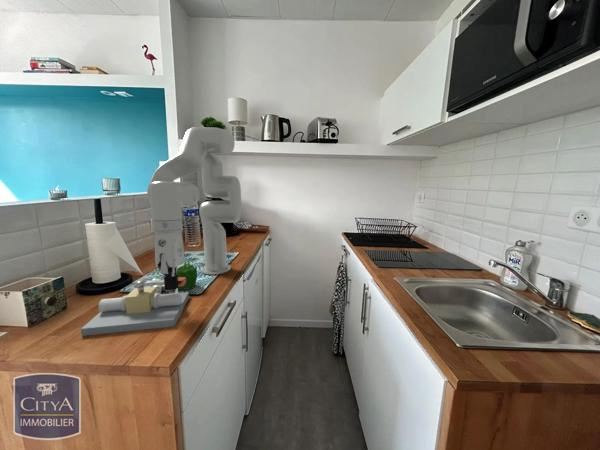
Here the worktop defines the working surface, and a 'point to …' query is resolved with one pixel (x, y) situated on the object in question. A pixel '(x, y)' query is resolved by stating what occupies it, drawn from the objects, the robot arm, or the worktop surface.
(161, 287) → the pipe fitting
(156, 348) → the worktop surface
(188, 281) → the bell pepper
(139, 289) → the valve lever
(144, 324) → the pipe board
